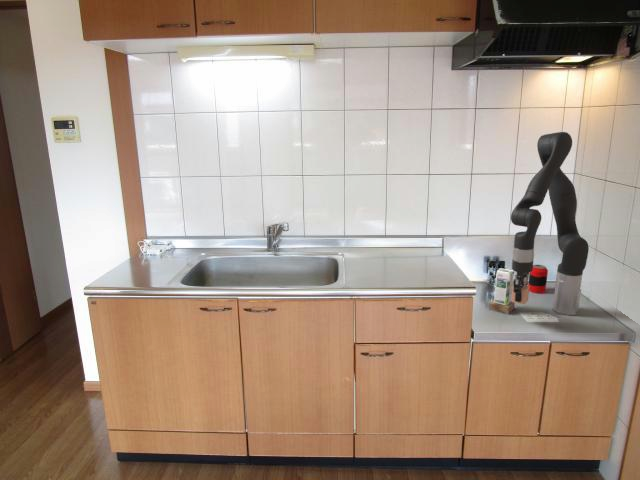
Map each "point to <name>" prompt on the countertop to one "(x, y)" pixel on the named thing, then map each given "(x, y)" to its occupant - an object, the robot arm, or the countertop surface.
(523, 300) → the terracotta block
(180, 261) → the countertop surface
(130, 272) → the countertop surface
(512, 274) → the syrup box
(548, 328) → the countertop surface
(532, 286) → the soda can
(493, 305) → the walnut slab
